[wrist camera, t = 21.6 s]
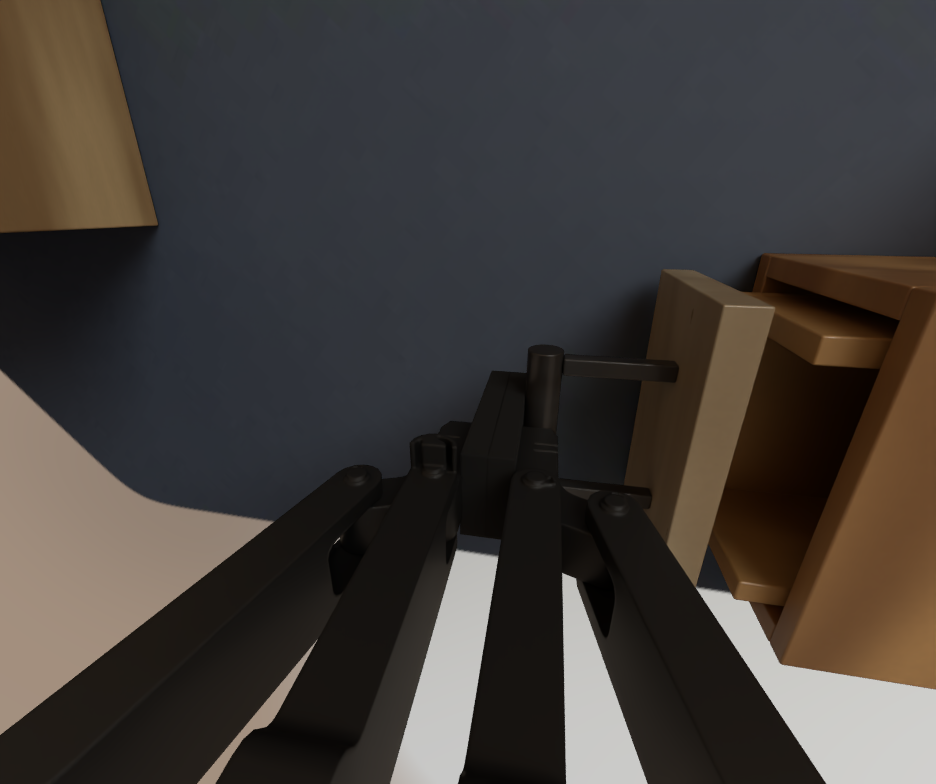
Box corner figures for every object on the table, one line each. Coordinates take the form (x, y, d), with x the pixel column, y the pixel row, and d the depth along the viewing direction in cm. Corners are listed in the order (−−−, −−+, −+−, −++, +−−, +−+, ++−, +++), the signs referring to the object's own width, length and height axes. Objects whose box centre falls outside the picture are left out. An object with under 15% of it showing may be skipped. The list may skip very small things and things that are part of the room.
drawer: (522, 480, 22) (510, 587, 16) (537, 265, 18) (527, 297, 11) (947, 525, 19) (1139, 681, 13) (1082, 280, 15) (1464, 334, 9)
